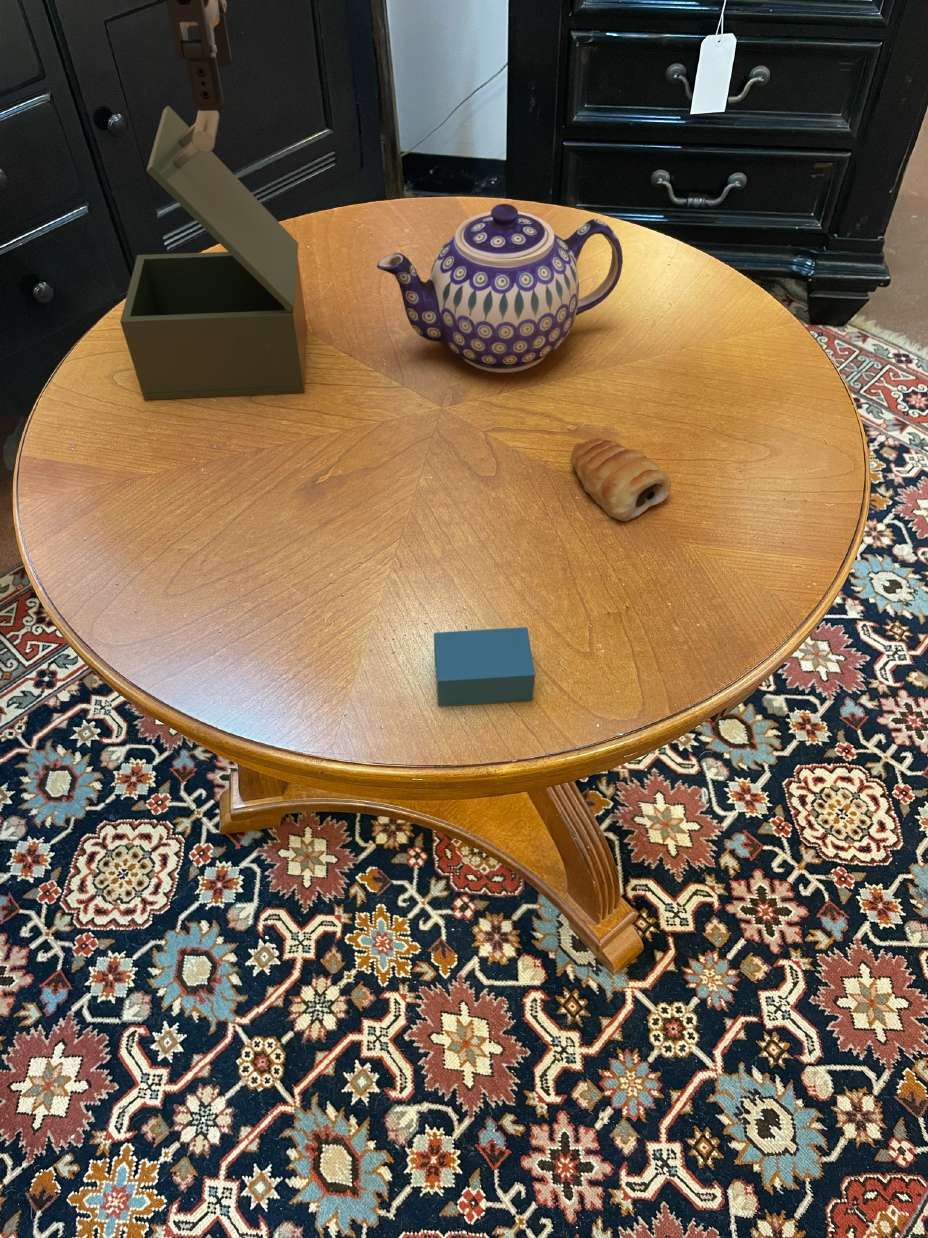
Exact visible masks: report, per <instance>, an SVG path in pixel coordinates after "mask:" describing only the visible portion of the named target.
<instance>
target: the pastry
mask: <svg viewBox="0 0 928 1238" xmlns="http://www.w3.org/2000/svg"><path fill="white" fill-rule="evenodd" d="M570 463H571V465H572V466H573V468H574V471H575V472H576V474H577V477H578V479H579V480H580V481H581V484H582V486H583V490H584V491H585V493H586V494H589V496H590V497H591V499H592V500H593V501H594V502H595V503H596V504H597V506H600V507H601V508H602V509H603V511H604V512H605V513H606V514H607V515H608V516H609V517H611V518H614V519H615V520H618V521H621V522H627V521H631V520H632V519H634V518H636V517H639V516H640V515H641V514H642V513H644V512H645V511H646V510H647V509H648V508H650V507H652V506H656V505H658V504H660V503H662V502H664V501H665V500H666V499H667V497H668V496H669V493H670V491H671V487H672V481H671V479H670V477H669V474H668V473H667V472H665V471H663V470H662V468H661V466H659V465H658V464H657V463H656V462H655V461H654V460H652V459H651V458H649V457H648V456H647V455H646V454H645V453H644V452H643V451H642V450H639V449H638V450H635V449H633V448H628V447H626V446H624V445H621V444H620V443H619V442H617V441H612V440H608V439H604V438H600V437H599V438H598V437H597V438H593V439H589V440H585V442H579V443H575V445H573V448H572V452H571V456H570Z"/></svg>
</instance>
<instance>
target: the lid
mask: <svg viewBox="0 0 928 1238" xmlns="http://www.w3.org/2000/svg"><path fill="white" fill-rule="evenodd" d="M219 123H220V113H219V110H218V111H199V110H198V109H197V115H196V119H195V122H194V123H193V124H192V125H191V126H190V127H189V126H188V124H187V123H186V122H184V120H183V119H182V118H181V117H180V116H179V115H178V113H177V112H176V111H175V110H173V108H172V107H170V105H167V106H166V107H164V109H163V110H162V113H161V118H160V121H159V125H158V128H157V132H156V135H155V139H154V143H153V146H152V150H151V153H150V157H149V161H148V165H147V168H146V172H147V174H149V176H151V177H152V178H153V180H154V181H156V182H157V183H158V184H159V185H160V186H161V187H162V189H164V190H165V191H166V192H167V193H168V194H169V195H170V197H172V198H173V199H174V200H175V201H176V202H177V203H178V204H179V205H180V206H181V207H182V208H183V209H184V210H185V211H186V212H187V213H188V214H189V215H190V216H191V217H192V218H193V219H194V220H195V221H196V222H197V223H198V224H199V225H200V226H201V227H202V228H203V229H204V230H206V232H207V233H209V235H211V236H212V238H214V239H215V241H217V242H218V244H220V245H221V246H222V247H223V248H224V249H225V250H226V252H229V253H230V254H231V255H232V256H233V257H234V258H235V259H236V260H237V261H238V262H239V263H240V264H241V265H242V266H243V267H244V268H245V269H246V270H247V271H248V272H249V273H250V274H251V275H252V276H253V277H254V278H255V279H256V280H257V281H258V282H259V283H261V284H262V285H263V286H264V287H265V288H266V289H267V290H268V291H269V292H270V293H271V294H272V295H273V296H274V297H275V298H276V299H277V300H278V301H279V302H280V303H281V304H282V305H283V306H284V307H285V308H286V309H287V310H288V311H289V312H290V311H292V310H293V309H294V308H295V295H296V277H297V258H298V259H299V257H298V256H299V255H298V254H299V242H298V241H297V240H296V239H295V238H294V237H293V236H292V234H290V233H289V232H288V230H287V229H286V228H285V227H284V226H283V225H282V224H281V223H280V222H279V221H278V220H277V219H276V218H275V217H274V215H272V214H271V212H270V211H269V210H268V209H267V208H266V207H265V206H264V205H263V204H262V203H261V202H260V201H259V199H257V198H256V196H254V195H253V193H252V192H251V191H250V190H249V189H248V188H247V187H246V186H245V185H244V184H243V183H242V182H241V181H240V179H239V178H238V177H236V175H235V174H234V173H233V172H232V170H231V169H229V167H228V166H226V164H224V163H223V161H221V159H220V158H219V157H218V156H217V155H216V154H215V153H214V152H213V150H214V148H215V144H216V140H217V134H218V128H219Z"/></svg>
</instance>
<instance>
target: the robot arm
mask: <svg viewBox="0 0 928 1238" xmlns="http://www.w3.org/2000/svg"><path fill="white" fill-rule="evenodd" d="M165 2H166V7H167V13H168V17H169V22H170V28H171V33H172V37H173V43H174V46H173V48H174V49H173V50H174V53H175V55H176V57H177V59H178V60H185V65H186V69H187V70H186V71H187V75H188V80H189V84H190V90H191V95H192V100H193V105H194V108H195V109H196V110H197V111H198V110H199V111H218V112H219V111H221V110H222V109H223V107H224V102H225V101H224V100H225V99H224V95H223V94H224V93H223V90H222V89H223V88H222V83H221V78H220V77H221V76H220V71H219V68H227V67H229V66H230V65H231V63H232V52H231V51H232V50H231V46H230V40H229V34H228V27H227V22H226V21H227V20H226V15H225V14H226V11H227V0H165ZM192 26H194V27H195V26H196V27H197V29H198V35H199V39H198V38H197V39H196V38H195V39H189V33H188V29H189V27H192Z"/></svg>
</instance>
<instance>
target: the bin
mask: <svg viewBox="0 0 928 1238" xmlns="http://www.w3.org/2000/svg"><path fill="white" fill-rule="evenodd" d="M121 313H122V314H121V318H120V326H121V329H122V332H123V335H124V338H125V343H126V345H127V349H128V351H129V354H130V358H131V361H132V365H133V368H134V371H135V374H136V377H137V380H138V384H139V388H140V391H141V394H142V397H143V400H144V401H156V400H157V401H159V400H178V399H179V400H180V399H200V398H203V399H204V398H222V397H224V398H225V397H244V396H246V397H247V396H267V395H268V396H270V395H288V394H289V395H290V394H305V391H306V389H305V387H306V364H307V362H306V361H307V339H308V337H307V336H308V323H307V316H306V307H305V300H304V293H303V285H302V278H301V271H300V264H299V257H298V258H297V277H296V295H295V308H294V309H293V310H292V311H290V312H289V311H288V310H287V309H286V308H285V307H284V306H283V305H282V304H281V303H280V302H279V301H278V300H277V299H276V298H275V297H274V296H273V295H272V294H271V293H270V292H269V291H268V290H267V289H266V288H265V287H264V286H263V285H262V284H261V283H259V282H258V281H257V280H256V279H255V278H254V277H253V276H252V275H251V274H250V273H249V272H248V271H247V270H246V269H245V268H244V267H243V266H242V265H241V264H240V263H239V262H238V261H237V260H236V259H235V258H234V257H233V256H232V255H231V254H230V253H229V252H228V251H216V252H215V251H211V252H209V251H208V252H186V253H185V252H183V253H157V254H155V253H154V254H137V255H136V259H135V263H134V268H133V271H132V274H131V278H130V283H129V286H128V290H127V294H126V299H125V302H124V306H123V309H122V312H121Z"/></svg>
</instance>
